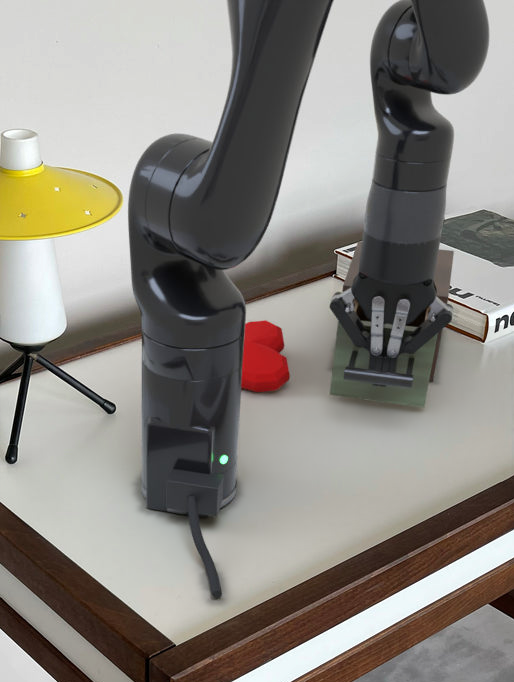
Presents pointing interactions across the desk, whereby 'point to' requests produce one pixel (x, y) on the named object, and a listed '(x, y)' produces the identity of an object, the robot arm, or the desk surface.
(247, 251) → the robot arm
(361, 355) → the drawer
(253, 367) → the heart
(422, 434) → the desk surface
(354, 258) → the cabinet
